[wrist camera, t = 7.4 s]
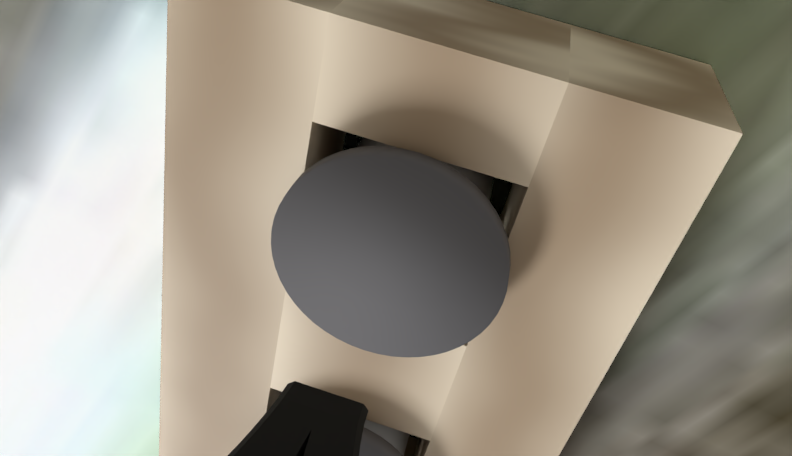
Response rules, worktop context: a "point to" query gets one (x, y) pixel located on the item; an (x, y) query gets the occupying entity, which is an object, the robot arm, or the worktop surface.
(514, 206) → the knob mount
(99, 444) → the worktop surface
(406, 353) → the knob front
